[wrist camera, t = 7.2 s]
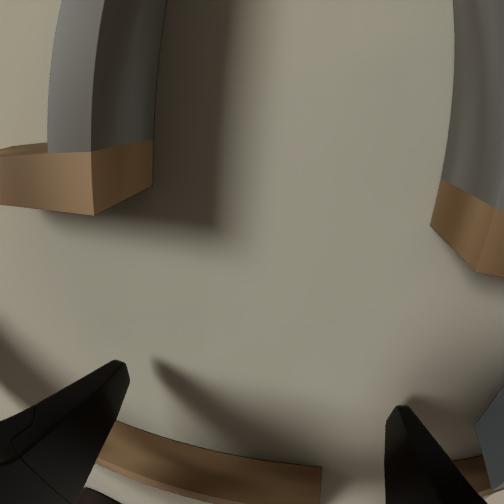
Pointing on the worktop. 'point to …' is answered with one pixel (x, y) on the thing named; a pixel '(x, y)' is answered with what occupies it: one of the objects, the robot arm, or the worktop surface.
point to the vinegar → (94, 497)
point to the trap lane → (141, 177)
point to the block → (493, 440)
